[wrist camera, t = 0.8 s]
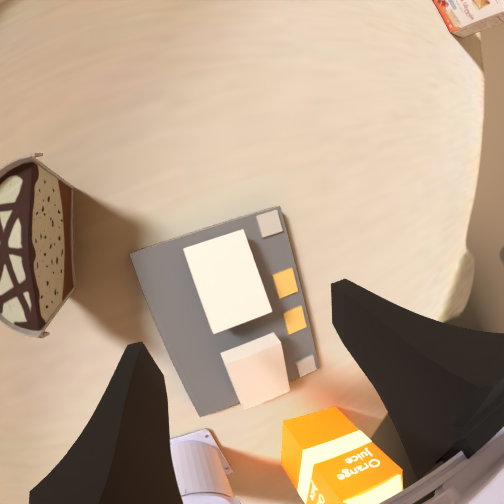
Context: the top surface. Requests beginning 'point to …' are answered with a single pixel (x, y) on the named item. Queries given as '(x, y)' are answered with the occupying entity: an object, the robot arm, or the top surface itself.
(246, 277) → the plate
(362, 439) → the orange juice
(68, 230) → the food container
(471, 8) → the cracker box
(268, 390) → the rocker
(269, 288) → the switch board
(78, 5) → the top surface
